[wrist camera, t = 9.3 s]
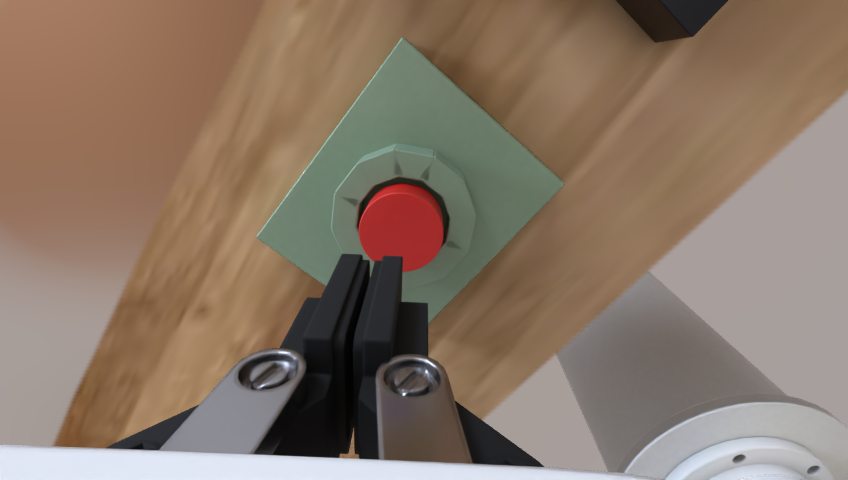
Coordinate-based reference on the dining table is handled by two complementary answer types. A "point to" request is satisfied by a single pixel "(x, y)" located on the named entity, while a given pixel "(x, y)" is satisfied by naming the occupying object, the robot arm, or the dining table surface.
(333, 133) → the button box
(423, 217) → the button
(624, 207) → the dining table surface
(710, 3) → the panel
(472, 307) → the dining table surface
